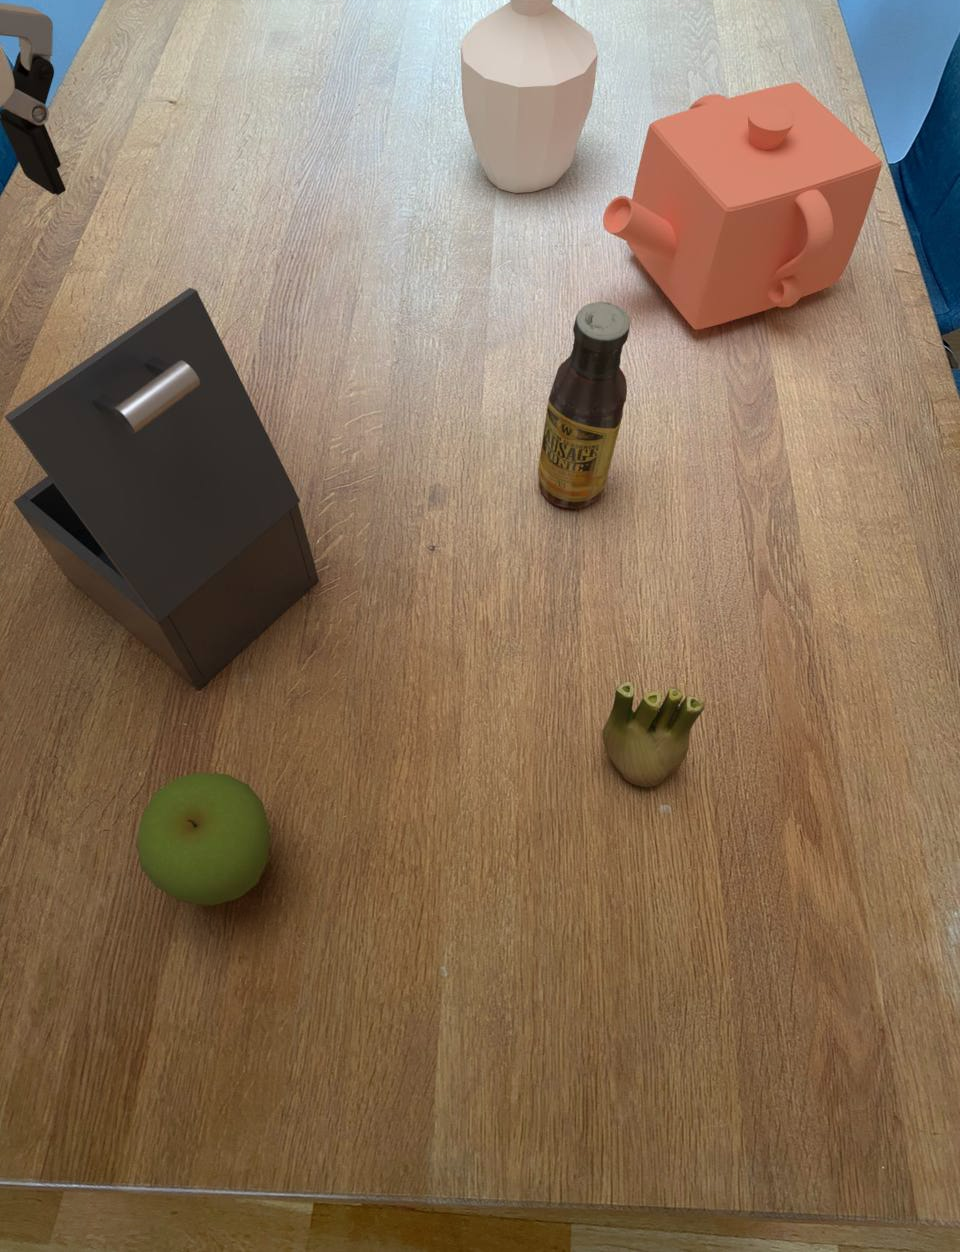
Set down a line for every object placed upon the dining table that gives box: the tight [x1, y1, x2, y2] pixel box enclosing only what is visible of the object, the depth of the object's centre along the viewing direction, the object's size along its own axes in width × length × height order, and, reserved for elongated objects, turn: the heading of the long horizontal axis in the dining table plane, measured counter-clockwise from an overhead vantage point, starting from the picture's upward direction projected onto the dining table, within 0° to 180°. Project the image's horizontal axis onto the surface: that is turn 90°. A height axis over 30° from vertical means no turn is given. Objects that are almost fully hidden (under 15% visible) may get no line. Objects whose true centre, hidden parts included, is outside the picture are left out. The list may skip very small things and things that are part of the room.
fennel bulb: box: [601, 681, 705, 788], centre depth 68 cm, size 6×5×12 cm
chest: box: [13, 475, 320, 692], centre depth 76 cm, size 17×14×11 cm
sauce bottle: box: [537, 301, 631, 510], centre depth 77 cm, size 6×6×20 cm
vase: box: [460, 0, 599, 194], centre depth 98 cm, size 14×14×25 cm
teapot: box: [602, 81, 883, 330], centre depth 92 cm, size 25×23×18 cm
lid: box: [4, 287, 301, 622], centre depth 61 cm, size 18×14×5 cm
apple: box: [136, 772, 271, 906], centre depth 63 cm, size 9×8×12 cm
